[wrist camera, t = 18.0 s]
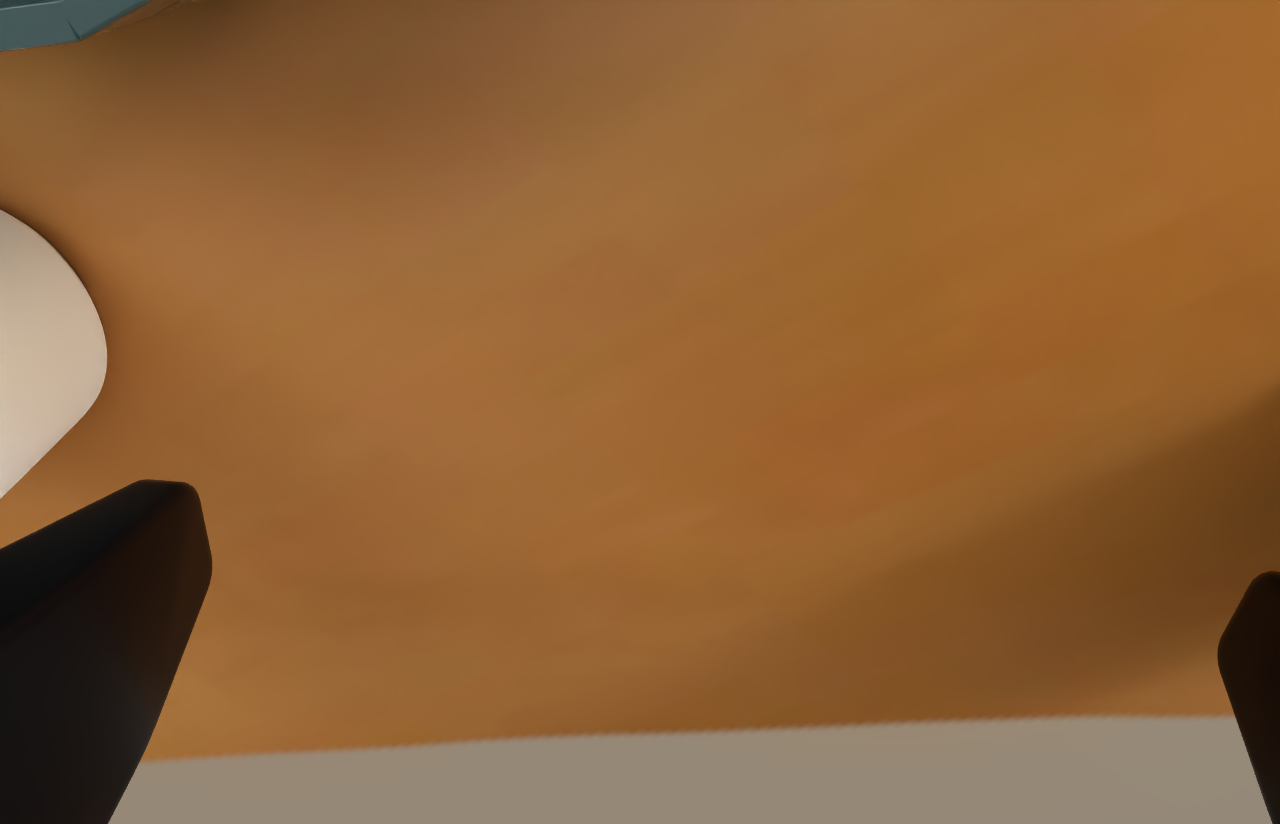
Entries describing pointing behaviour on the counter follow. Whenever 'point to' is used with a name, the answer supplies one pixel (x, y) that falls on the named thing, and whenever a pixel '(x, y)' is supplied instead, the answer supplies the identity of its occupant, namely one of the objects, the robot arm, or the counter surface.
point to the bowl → (70, 19)
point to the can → (42, 349)
